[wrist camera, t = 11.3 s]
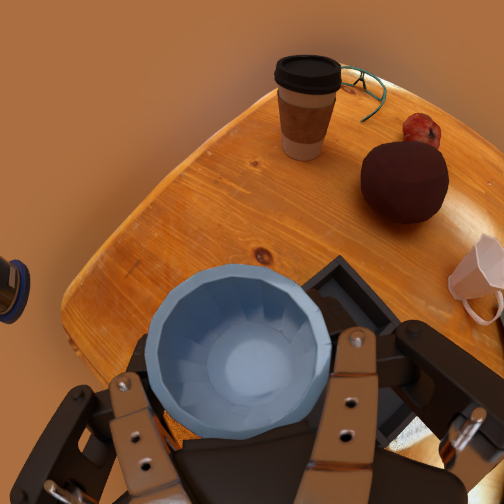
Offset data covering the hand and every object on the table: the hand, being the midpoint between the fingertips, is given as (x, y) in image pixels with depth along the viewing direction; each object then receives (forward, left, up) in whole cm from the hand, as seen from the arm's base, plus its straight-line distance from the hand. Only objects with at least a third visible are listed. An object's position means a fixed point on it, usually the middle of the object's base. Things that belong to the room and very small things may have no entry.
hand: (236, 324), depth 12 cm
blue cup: (-1, -2, -4) cm, 5 cm away
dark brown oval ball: (+27, +3, -16) cm, 31 cm away
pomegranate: (+43, +8, -16) cm, 46 cm away
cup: (+25, -13, -16) cm, 32 cm away
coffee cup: (+24, +19, -16) cm, 34 cm away
